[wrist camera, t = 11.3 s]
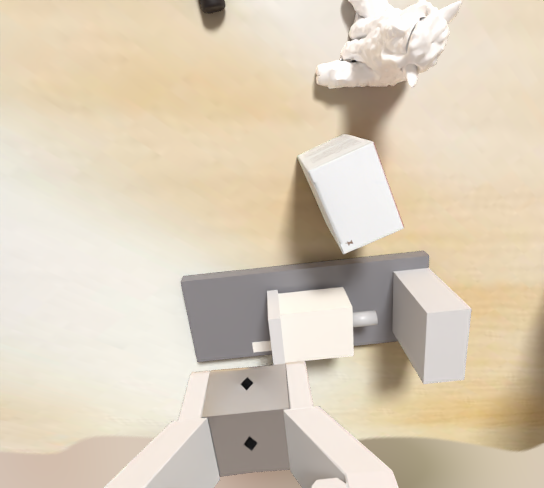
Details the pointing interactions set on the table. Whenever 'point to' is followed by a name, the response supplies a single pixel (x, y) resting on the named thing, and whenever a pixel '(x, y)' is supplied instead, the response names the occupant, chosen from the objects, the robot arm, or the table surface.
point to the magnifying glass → (212, 5)
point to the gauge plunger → (313, 324)
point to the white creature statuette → (389, 44)
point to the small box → (351, 191)
